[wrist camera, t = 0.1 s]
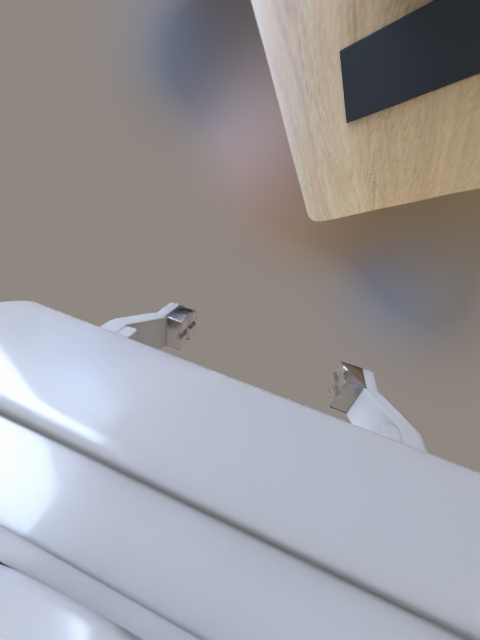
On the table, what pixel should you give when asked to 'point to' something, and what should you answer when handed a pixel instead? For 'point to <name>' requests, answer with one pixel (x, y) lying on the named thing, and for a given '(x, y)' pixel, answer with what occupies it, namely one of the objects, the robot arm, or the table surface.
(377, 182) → the table surface
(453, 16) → the mat
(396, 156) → the table surface
